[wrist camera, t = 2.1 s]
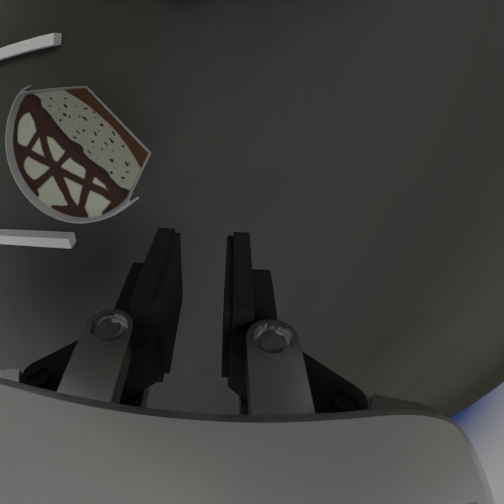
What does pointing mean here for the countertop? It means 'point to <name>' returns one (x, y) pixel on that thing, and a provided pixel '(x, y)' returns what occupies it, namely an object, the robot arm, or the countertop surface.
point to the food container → (72, 154)
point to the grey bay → (33, 236)
